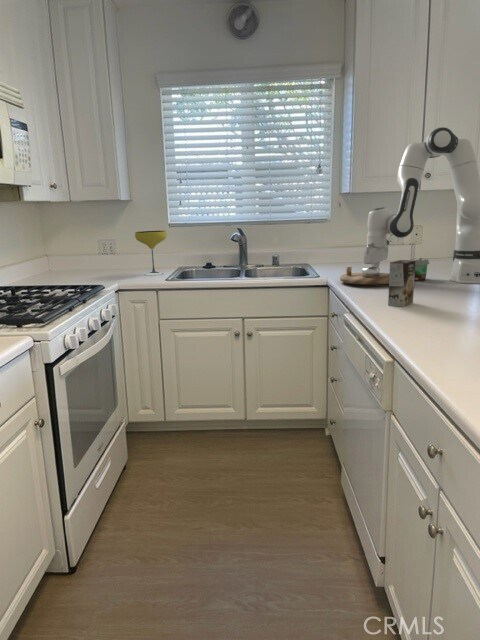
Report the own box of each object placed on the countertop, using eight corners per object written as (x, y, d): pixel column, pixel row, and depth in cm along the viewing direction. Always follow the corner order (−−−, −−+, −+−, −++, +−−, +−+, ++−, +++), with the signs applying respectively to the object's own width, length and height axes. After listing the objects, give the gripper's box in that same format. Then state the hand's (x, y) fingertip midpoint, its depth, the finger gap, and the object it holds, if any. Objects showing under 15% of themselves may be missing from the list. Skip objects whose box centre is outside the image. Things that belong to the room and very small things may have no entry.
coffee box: (404, 307, 171) (406, 263, 168) (387, 305, 175) (389, 262, 172) (413, 302, 178) (415, 260, 174) (397, 301, 182) (398, 259, 178)
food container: (423, 282, 220) (424, 261, 218) (410, 281, 224) (411, 260, 221) (431, 278, 230) (432, 258, 227) (418, 278, 233) (419, 257, 231)
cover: (382, 275, 224) (382, 266, 223) (375, 278, 218) (375, 269, 217) (366, 274, 229) (366, 266, 228) (359, 277, 223) (359, 268, 222)
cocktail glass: (163, 276, 270) (160, 232, 264) (133, 276, 273) (130, 233, 267) (173, 271, 287) (170, 230, 281) (144, 272, 290) (141, 231, 284)
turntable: (409, 277, 226) (410, 266, 224) (387, 286, 205) (388, 274, 203) (355, 273, 243) (355, 263, 242) (329, 281, 222) (329, 270, 220)
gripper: (373, 244, 215) (372, 274, 218) (391, 241, 230) (389, 269, 233) (360, 244, 219) (359, 273, 222) (378, 240, 234) (377, 268, 237)
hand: (375, 271), depth 228 cm, fingers closed
